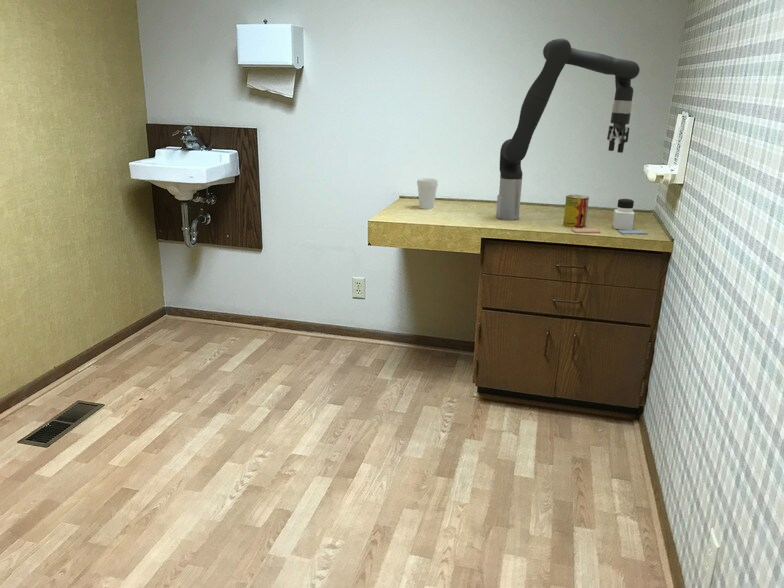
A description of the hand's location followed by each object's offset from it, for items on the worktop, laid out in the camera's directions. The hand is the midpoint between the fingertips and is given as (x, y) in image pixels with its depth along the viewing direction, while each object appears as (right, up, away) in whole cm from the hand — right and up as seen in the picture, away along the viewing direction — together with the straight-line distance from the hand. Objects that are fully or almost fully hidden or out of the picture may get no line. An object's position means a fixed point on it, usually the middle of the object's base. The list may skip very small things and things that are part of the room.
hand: (615, 151), depth 273 cm
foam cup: (-79, -21, +24) cm, 85 cm away
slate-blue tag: (0, -36, -19) cm, 41 cm away
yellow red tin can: (-20, -32, -7) cm, 38 cm away
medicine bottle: (-1, -34, -11) cm, 36 cm away
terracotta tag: (-18, -36, -18) cm, 44 cm away
